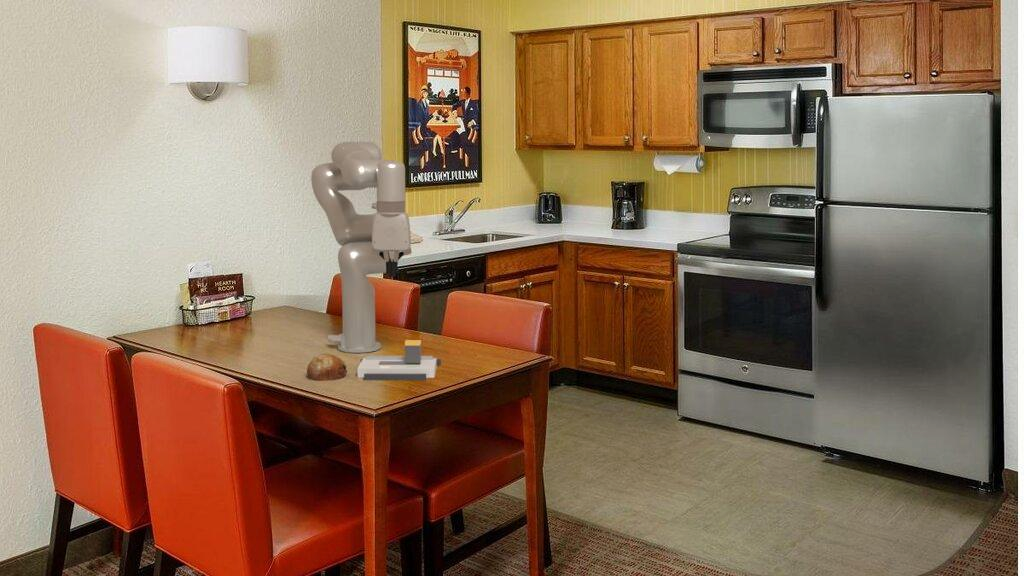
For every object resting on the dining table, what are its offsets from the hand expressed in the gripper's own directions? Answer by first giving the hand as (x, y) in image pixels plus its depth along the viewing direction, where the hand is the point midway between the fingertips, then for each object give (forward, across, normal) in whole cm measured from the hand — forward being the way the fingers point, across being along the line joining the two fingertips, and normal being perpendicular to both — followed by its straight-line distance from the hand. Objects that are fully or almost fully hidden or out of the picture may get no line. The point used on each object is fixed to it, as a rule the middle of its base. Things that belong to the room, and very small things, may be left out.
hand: (391, 275), depth 261 cm
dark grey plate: (+25, +2, -6) cm, 26 cm away
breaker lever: (+22, +6, -6) cm, 24 cm away
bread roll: (+26, -16, -11) cm, 32 cm away
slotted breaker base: (+25, +2, -6) cm, 26 cm away
